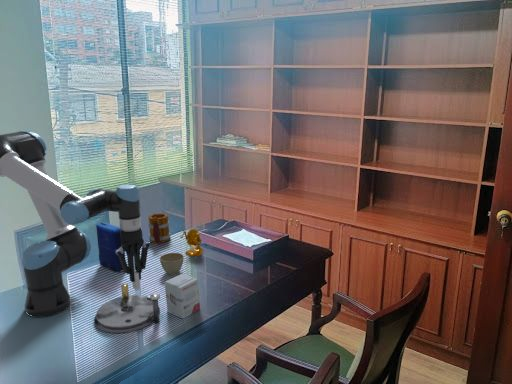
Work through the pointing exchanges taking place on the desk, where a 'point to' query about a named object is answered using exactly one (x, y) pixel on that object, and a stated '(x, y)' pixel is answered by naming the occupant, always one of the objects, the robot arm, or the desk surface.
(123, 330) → the turntable base
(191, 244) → the figurine
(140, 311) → the turntable
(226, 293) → the desk surface
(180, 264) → the flower pot
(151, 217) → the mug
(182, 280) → the ink box
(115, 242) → the book
